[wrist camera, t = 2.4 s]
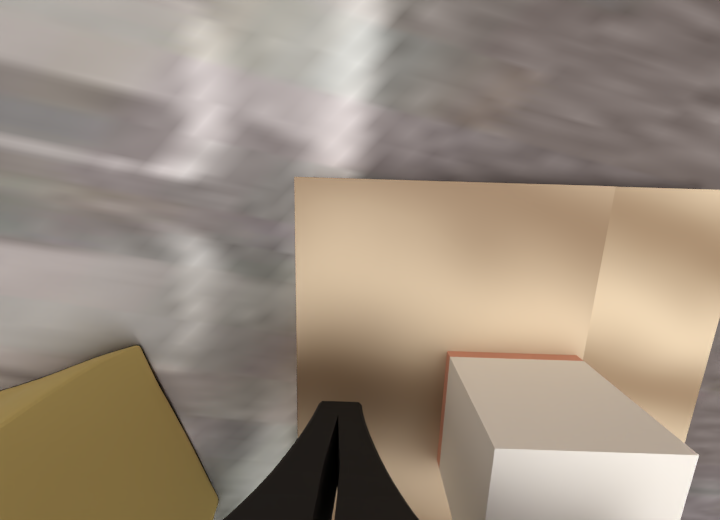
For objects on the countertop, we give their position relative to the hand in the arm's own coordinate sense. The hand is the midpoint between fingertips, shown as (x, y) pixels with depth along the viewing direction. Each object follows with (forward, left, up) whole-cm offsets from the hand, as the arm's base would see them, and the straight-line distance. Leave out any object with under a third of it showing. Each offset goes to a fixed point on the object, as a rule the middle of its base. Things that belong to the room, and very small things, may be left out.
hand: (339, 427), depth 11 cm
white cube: (0, -6, -1) cm, 6 cm away
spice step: (0, -6, -5) cm, 8 cm away
